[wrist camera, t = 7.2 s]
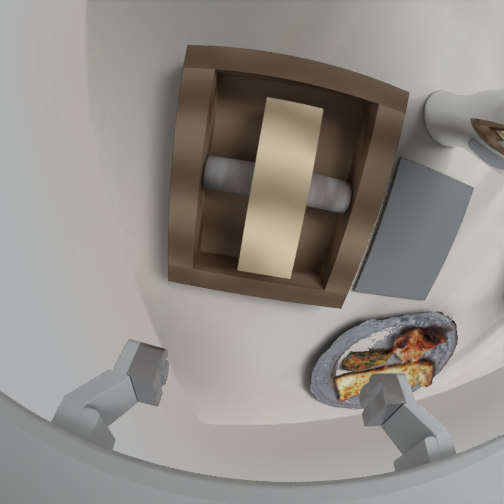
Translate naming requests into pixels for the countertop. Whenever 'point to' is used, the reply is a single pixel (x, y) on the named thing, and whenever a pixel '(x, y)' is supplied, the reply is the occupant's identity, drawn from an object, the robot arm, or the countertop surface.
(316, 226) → the pocket board
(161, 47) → the countertop surface
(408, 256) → the rubber mat
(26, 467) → the robot arm
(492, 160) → the drinking glass
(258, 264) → the maple bar
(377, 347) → the food plate
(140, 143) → the countertop surface
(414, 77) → the countertop surface
